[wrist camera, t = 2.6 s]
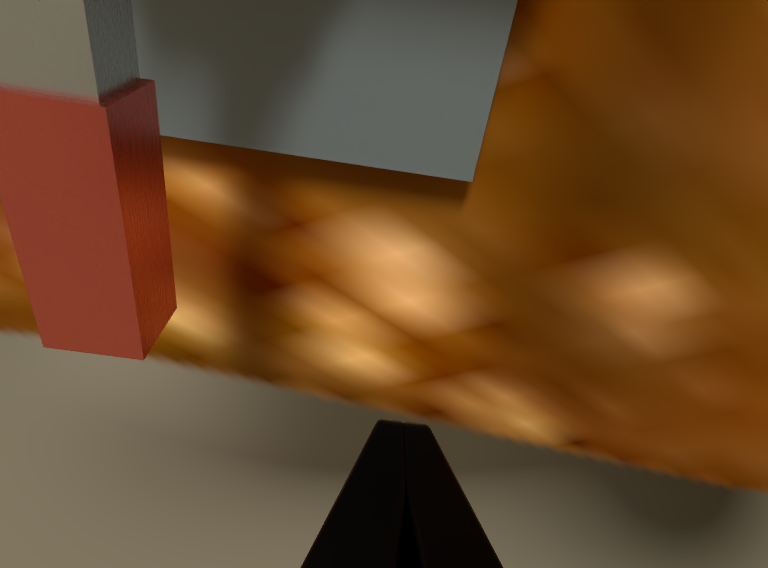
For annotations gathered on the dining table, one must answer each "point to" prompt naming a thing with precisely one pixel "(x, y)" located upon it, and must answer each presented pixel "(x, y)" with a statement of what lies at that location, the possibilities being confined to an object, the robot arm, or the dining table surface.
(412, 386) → the dining table surface
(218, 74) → the valve board
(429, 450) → the robot arm
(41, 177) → the valve lever
